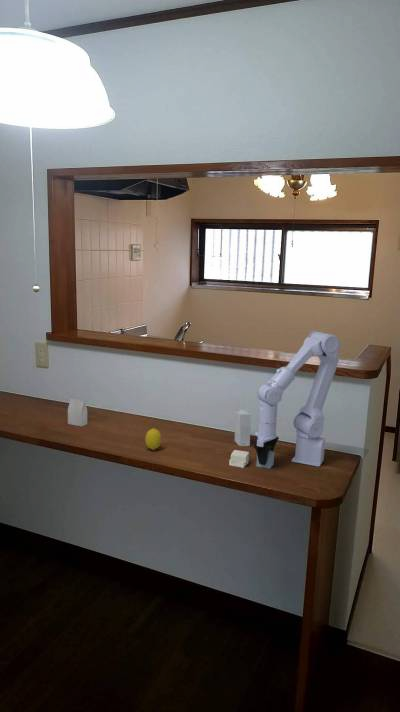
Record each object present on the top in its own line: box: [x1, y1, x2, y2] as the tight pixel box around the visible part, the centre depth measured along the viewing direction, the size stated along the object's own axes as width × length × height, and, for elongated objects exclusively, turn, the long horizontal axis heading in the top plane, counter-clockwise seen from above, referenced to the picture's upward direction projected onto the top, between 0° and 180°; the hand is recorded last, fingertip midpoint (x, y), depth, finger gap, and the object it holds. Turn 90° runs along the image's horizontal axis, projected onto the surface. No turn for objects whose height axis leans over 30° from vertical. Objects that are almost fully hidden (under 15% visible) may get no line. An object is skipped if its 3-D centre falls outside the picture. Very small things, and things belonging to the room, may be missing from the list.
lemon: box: [145, 427, 162, 451], centre depth 180 cm, size 6×6×8 cm
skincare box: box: [234, 409, 252, 447], centre depth 189 cm, size 6×4×12 cm
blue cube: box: [256, 450, 275, 470], centre depth 170 cm, size 4×4×4 cm
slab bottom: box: [228, 457, 250, 469], centre depth 170 cm, size 5×5×2 cm
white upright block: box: [67, 398, 88, 427], centre depth 206 cm, size 4×7×10 cm, turn 66°
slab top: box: [230, 449, 250, 463], centre depth 170 cm, size 5×5×2 cm
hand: (265, 461), depth 170 cm, fingers open, 6 cm apart
